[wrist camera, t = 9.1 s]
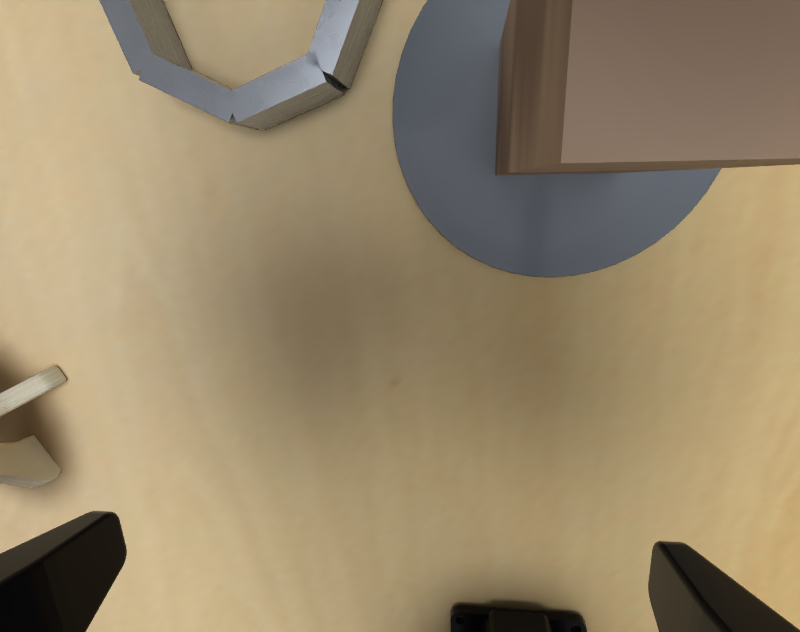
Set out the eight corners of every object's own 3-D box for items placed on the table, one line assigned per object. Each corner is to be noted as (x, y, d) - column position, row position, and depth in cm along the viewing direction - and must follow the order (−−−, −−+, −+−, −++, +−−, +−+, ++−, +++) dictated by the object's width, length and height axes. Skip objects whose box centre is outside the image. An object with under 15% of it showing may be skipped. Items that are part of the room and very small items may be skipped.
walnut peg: (618, 173, 17) (1010, 154, 5) (494, 175, 18) (561, 162, 5) (632, 36, 16) (1199, -454, 4) (499, 43, 17) (599, -360, 4)
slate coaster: (712, 271, 18) (719, 274, 18) (402, 277, 20) (400, 280, 19) (760, -104, 15) (772, -115, 14) (386, -59, 17) (384, -68, 16)
